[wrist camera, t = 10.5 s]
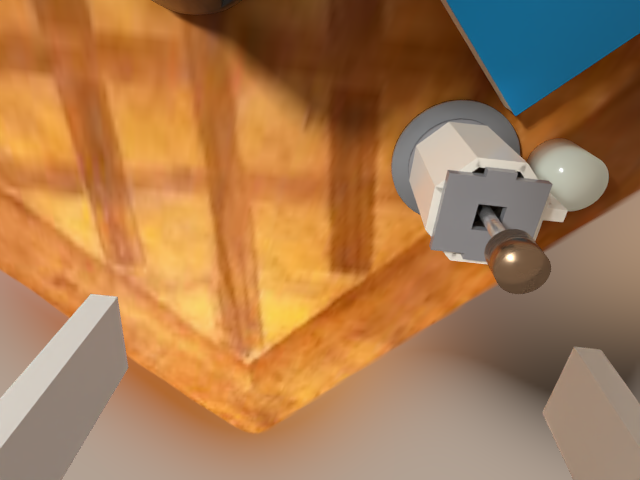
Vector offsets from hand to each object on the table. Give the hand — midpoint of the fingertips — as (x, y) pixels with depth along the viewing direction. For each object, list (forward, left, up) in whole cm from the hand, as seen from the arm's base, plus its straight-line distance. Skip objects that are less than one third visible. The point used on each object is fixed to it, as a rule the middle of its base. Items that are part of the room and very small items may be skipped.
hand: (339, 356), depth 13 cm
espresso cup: (+5, +24, -40) cm, 47 cm away
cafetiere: (+6, +14, -39) cm, 42 cm away
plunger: (+6, +13, -32) cm, 35 cm away
